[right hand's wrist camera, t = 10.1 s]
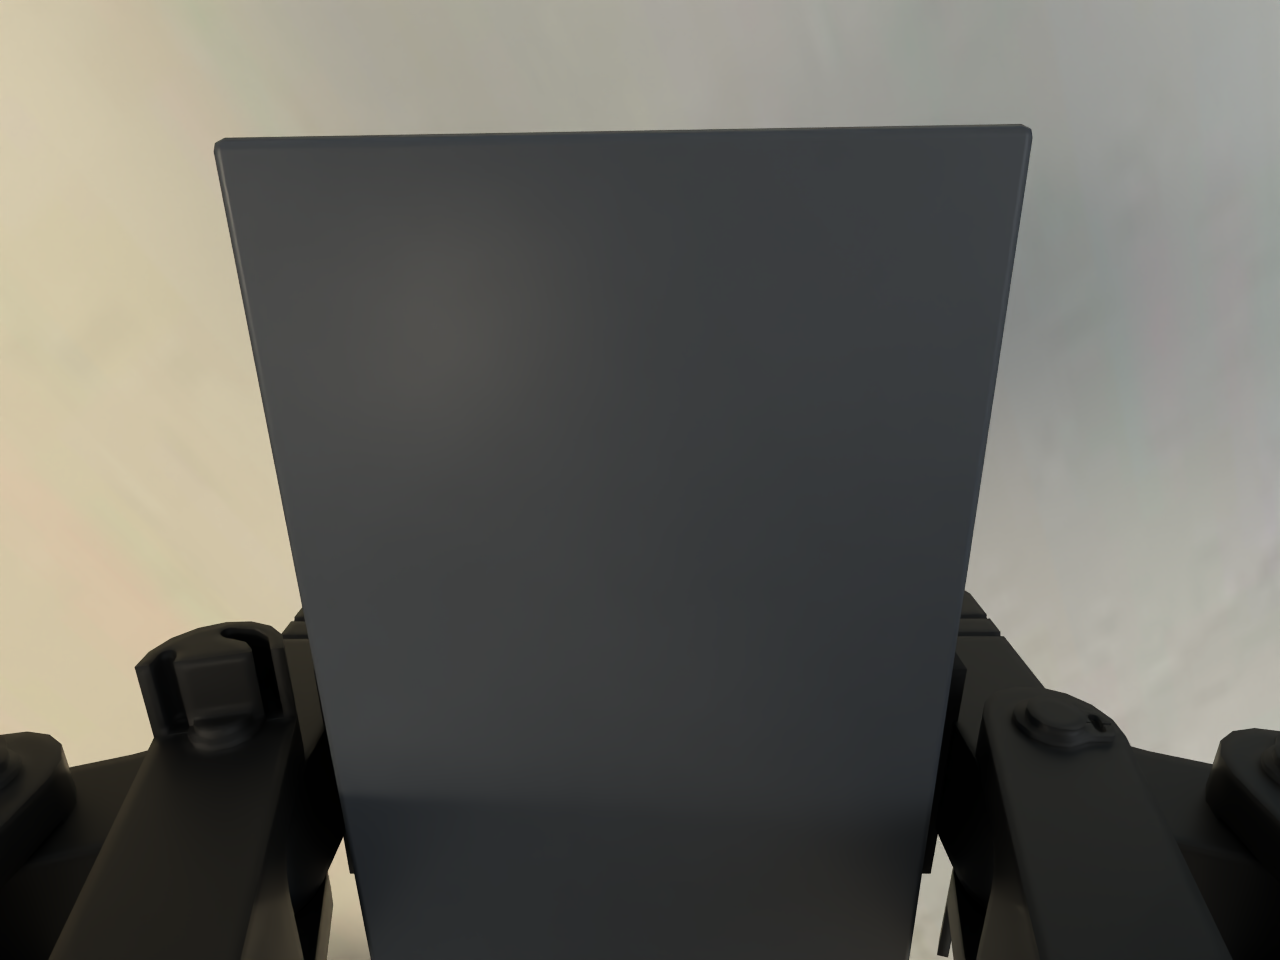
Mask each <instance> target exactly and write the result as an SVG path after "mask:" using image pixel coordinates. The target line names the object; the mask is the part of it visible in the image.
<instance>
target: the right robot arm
mask: <svg viewBox="0 0 1280 960" xmlns="http://www.w3.org/2000/svg"><path fill="white" fill-rule="evenodd" d="M986 616H987V614H986V613H985V612H984V611H983V609H982V608H981V607H980V606H979V604H978V603H977V602H976V600H975V599H974V598H973V597H972V595H971V594H970V593H968V592H967V591H965V590H964V597H963V603H962V610H961V617H960V623H959V630H958V637H957V643H956V650H955V657H954V663H953V670H952V677H951V683H950V690H949V697H948V703H947V710H946V717H945V723H944V730H943V737H942V743H941V750H940V756H939V763H938V770H937V776H936V783H935V790H934V796H933V803H932V810H931V816H930V823H929V830H928V836H927V843H926V850H925V856H924V863H923V870H922V874H931V869H932V863H933V857H934V852H935V846H936V841H937V835H939V837H940V840H941V842H942V844H943V846H944V848H945V851H946V853H947V855H948V857H949V859H950V862H951V864H952V866H953V870H952V875H951V881H950V886H949V891H948V896H947V901H946V907H945V912H944V917H943V922H942V928H941V933H940V938H939V945H938V952H937V955H939V956H944V957H948V954H949V949H950V944H951V941H952V950H953V958H954V960H1280V731H1274V730H1266V729H1257V728H1252V729H1245V730H1238V731H1232V732H1231V733H1230V734H1228V735H1227V736H1226V737H1225V738H1223V739H1222V740H1221V741H1220V744H1219V747H1218V750H1217V753H1216V756H1215V759H1214V762H1213V764H1209V763H1204V762H1199V761H1194V760H1189V759H1184V758H1179V757H1174V756H1169V755H1165V754H1160V753H1155V752H1150V751H1146V750H1142V749H1139V748H1135V747H1131V746H1130V744H1129V742H1128V740H1127V738H1126V736H1125V735H1124V733H1123V732H1122V731H1121V730H1120V728H1119V727H1118V726H1117V724H1116V723H1115V722H1114V721H1113V720H1112V719H1111V718H1110V717H1108V716H1107V715H1105V714H1104V713H1103V712H1101V711H1100V710H1098V709H1097V708H1095V707H1094V706H1093V705H1091V704H1089V703H1086V702H1084V701H1082V700H1080V699H1077V698H1075V697H1073V696H1071V695H1068V694H1066V693H1062V692H1057V691H1053V690H1049V689H1045V688H1044V686H1043V685H1042V684H1041V683H1040V681H1039V680H1038V679H1037V678H1036V676H1035V675H1034V674H1033V673H1032V671H1031V670H1030V669H1029V667H1028V666H1027V665H1026V664H1025V662H1024V661H1023V660H1022V659H1021V657H1020V656H1019V655H1018V654H1017V652H1016V651H1015V650H1014V649H1013V647H1012V646H1011V645H1010V643H1009V642H1008V641H1007V640H1006V638H1005V637H1004V636H1000V631H999V630H998V628H997V627H996V626H995V625H994V623H993V622H992V621H991V619H987V617H986ZM135 670H136V674H137V677H138V681H139V684H140V688H141V692H142V695H143V699H144V703H145V706H146V710H147V713H148V717H149V721H150V724H151V728H152V732H153V735H154V739H153V741H152V743H151V745H150V747H149V750H148V751H144V752H140V753H137V754H133V755H128V756H123V757H118V758H114V759H109V760H104V761H99V762H94V763H89V764H84V765H80V766H75V767H70V768H69V766H68V763H67V760H66V757H65V754H64V751H63V748H62V745H61V743H59V742H58V741H57V740H55V739H54V738H53V737H52V736H50V735H48V734H41V733H34V732H20V733H12V734H4V735H0V960H327V951H328V943H329V935H330V927H331V918H332V910H333V900H332V892H331V886H330V881H329V875H328V869H329V867H330V865H331V863H332V861H333V858H334V856H335V854H336V852H337V849H338V847H339V845H340V843H341V841H342V838H343V837H344V843H345V848H346V854H347V859H348V865H349V871H350V874H354V870H353V864H352V859H351V854H350V849H349V844H348V839H347V834H346V828H345V823H344V818H343V813H342V808H341V803H340V798H339V792H338V787H337V782H336V777H335V772H334V767H333V762H332V757H331V751H330V746H329V741H328V736H327V731H326V726H325V721H324V715H323V710H322V705H321V700H320V695H319V690H318V685H317V679H316V674H315V669H314V664H313V659H312V654H311V649H310V643H309V638H308V633H307V628H306V623H305V618H304V613H303V608H301V610H300V611H299V612H298V614H297V615H296V616H295V620H294V621H291V622H290V624H289V625H288V626H287V628H286V629H285V630H284V631H283V633H282V634H281V633H279V632H278V631H277V630H276V629H274V628H273V627H272V626H269V625H265V624H260V623H256V622H225V623H220V624H215V625H211V626H206V627H201V628H197V629H194V630H192V631H189V632H187V633H184V634H181V635H179V636H176V637H173V638H171V639H169V640H168V641H166V642H164V643H163V644H161V645H159V646H158V647H156V648H155V649H153V650H151V651H150V652H148V653H147V655H146V656H145V657H144V658H143V659H142V660H141V661H140V662H139V663H138V664H137V665H136V666H135Z"/></svg>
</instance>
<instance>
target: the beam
mask: <svg viewBox="0 0 1280 960" xmlns="http://www.w3.org/2000/svg"><path fill="white" fill-rule="evenodd" d="M1031 144H1032V131H1031V129H1030V128H1028V127H1026V126H1024V125H1022V124H998V125H940V126H882V127H824V128H766V129H708V130H651V131H593V132H535V133H477V134H419V135H361V136H304V137H246V138H224V139H222V140H220V141H218V142H216V143H215V146H214V155H215V160H216V166H217V171H218V176H219V181H220V186H221V191H222V196H223V202H224V207H225V212H226V217H227V222H228V227H229V232H230V238H231V243H232V248H233V253H234V258H235V263H236V268H237V273H238V279H239V284H240V289H241V294H242V299H243V304H244V309H245V315H246V320H247V325H248V330H249V335H250V340H251V345H252V351H253V356H254V361H255V366H256V371H257V376H258V381H259V387H260V392H261V397H262V402H263V407H264V412H265V417H266V423H267V428H268V433H269V438H270V443H271V448H272V453H273V458H274V464H275V469H276V474H277V479H278V484H279V489H280V494H281V500H282V505H283V510H284V515H285V520H286V525H287V530H288V536H289V541H290V546H291V551H292V556H293V561H294V566H295V572H296V577H297V582H298V587H299V592H300V597H301V602H302V608H303V613H304V618H305V623H306V628H307V633H308V638H309V643H310V649H311V654H312V659H313V664H314V669H315V674H316V679H317V685H318V690H319V695H320V700H321V705H322V710H323V715H324V721H325V726H326V731H327V736H328V741H329V746H330V751H331V757H332V762H333V767H334V772H335V777H336V782H337V787H338V792H339V798H340V803H341V808H342V813H343V818H344V823H345V828H346V834H347V839H348V844H349V849H350V854H351V859H352V864H353V870H354V875H355V880H356V885H357V890H358V895H359V900H360V906H361V911H362V916H363V921H364V926H365V931H366V936H367V942H368V947H369V952H370V957H371V960H909V956H910V949H911V943H912V936H913V930H914V923H915V916H916V910H917V903H918V896H919V890H920V883H921V876H922V870H923V863H924V856H925V850H926V843H927V836H928V830H929V823H930V816H931V810H932V803H933V796H934V790H935V783H936V776H937V770H938V763H939V756H940V750H941V743H942V737H943V730H944V723H945V717H946V710H947V703H948V697H949V690H950V683H951V677H952V670H953V663H954V657H955V650H956V643H957V637H958V630H959V623H960V617H961V610H962V603H963V597H964V590H965V583H966V577H967V570H968V564H969V557H970V550H971V544H972V537H973V530H974V524H975V517H976V510H977V504H978V497H979V490H980V484H981V477H982V470H983V464H984V457H985V450H986V444H987V437H988V430H989V424H990V417H991V410H992V404H993V397H994V390H995V384H996V377H997V371H998V364H999V357H1000V351H1001V344H1002V337H1003V331H1004V324H1005V317H1006V311H1007V304H1008V297H1009V291H1010V284H1011V277H1012V271H1013V264H1014V257H1015V251H1016V244H1017V237H1018V231H1019V224H1020V217H1021V211H1022V204H1023V197H1024V191H1025V184H1026V178H1027V171H1028V164H1029V158H1030V151H1031Z"/></svg>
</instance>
